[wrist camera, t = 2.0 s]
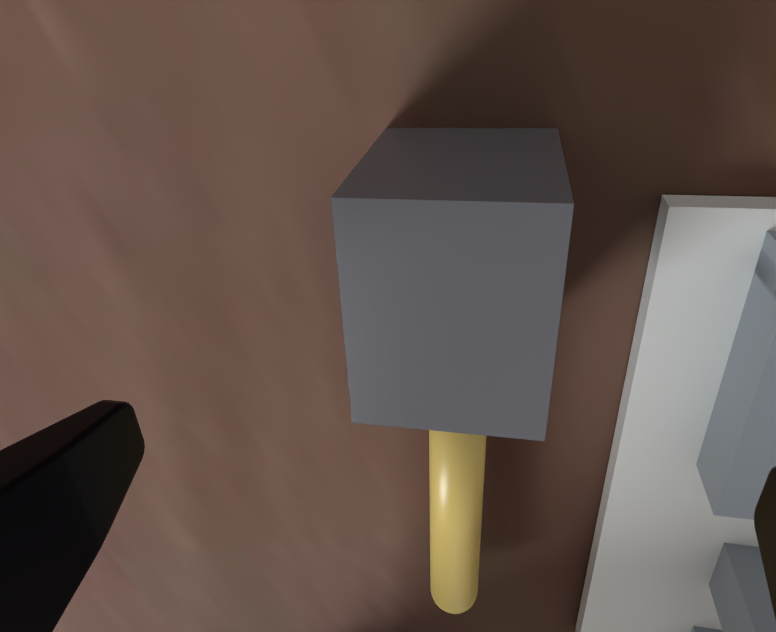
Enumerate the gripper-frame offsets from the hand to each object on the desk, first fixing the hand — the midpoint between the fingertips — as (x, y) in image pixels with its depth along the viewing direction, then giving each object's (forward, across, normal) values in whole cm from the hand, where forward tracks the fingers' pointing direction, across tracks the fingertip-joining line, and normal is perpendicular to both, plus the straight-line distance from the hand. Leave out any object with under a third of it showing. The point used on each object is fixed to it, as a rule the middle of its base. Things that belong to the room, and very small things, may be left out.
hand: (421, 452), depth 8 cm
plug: (+8, 0, +5) cm, 10 cm away
